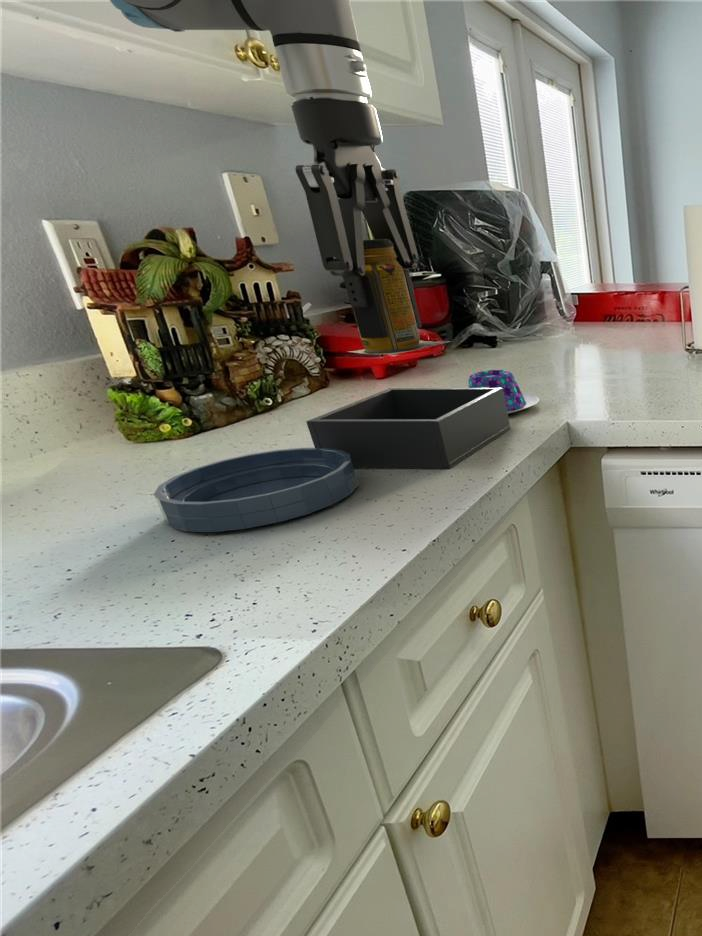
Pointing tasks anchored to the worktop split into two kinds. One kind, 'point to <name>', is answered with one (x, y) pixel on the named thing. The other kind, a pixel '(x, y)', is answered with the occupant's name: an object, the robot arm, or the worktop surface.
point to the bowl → (256, 489)
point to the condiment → (391, 302)
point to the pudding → (510, 388)
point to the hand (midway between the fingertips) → (392, 331)
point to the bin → (414, 427)
